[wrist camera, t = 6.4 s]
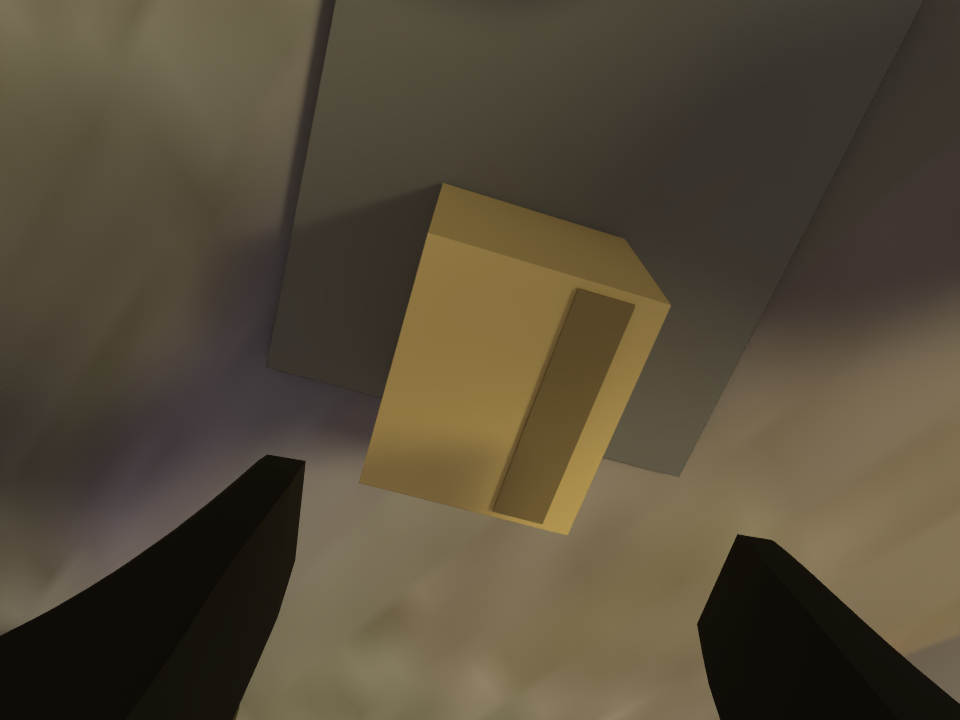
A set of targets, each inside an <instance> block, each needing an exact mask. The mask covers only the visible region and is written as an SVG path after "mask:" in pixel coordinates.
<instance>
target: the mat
mask: <svg viewBox="0 0 960 720" xmlns="http://www.w3.org/2000/svg"><path fill="white" fill-rule="evenodd" d="M923 1H924V0H336V2H335V7H334V12H333V18H332V23H331V28H330V34H329V39H328V44H327V49H326V55H325V60H324V65H323V70H322V76H321V81H320V86H319V91H318V97H317V102H316V107H315V112H314V118H313V123H312V128H311V134H310V139H309V144H308V149H307V155H306V160H305V165H304V170H303V176H302V181H301V186H300V191H299V197H298V202H297V207H296V212H295V218H294V223H293V228H292V234H291V239H290V244H289V249H288V255H287V260H286V265H285V270H284V276H283V281H282V286H281V291H280V297H279V302H278V307H277V312H276V318H275V323H274V328H273V334H272V339H271V344H270V349H269V355H268V360H267V365H266V367H268V368H271V369H275V370H279V371H283V372H286V373H290V374H294V375H298V376H301V377H305V378H309V379H313V380H316V381H320V382H324V383H328V384H331V385H335V386H339V387H343V388H346V389H350V390H354V391H358V392H361V393H365V394H369V395H372V396H376V397H380V398H383V394H384V390H385V387H386V383H387V379H388V376H389V372H390V369H391V365H392V361H393V358H394V354H395V350H396V347H397V343H398V340H399V336H400V332H401V329H402V325H403V321H404V318H405V314H406V311H407V307H408V303H409V300H410V296H411V292H412V289H413V285H414V282H415V278H416V274H417V271H418V267H419V263H420V260H421V256H422V253H423V249H424V245H425V242H426V238H427V234H428V231H429V228H430V224H431V221H432V218H433V214H434V211H435V208H436V204H437V201H438V198H439V194H440V191H441V188H442V184H443V183H445V184H448V185H452V186H455V187H458V188H461V189H465V190H468V191H471V192H474V193H478V194H481V195H484V196H487V197H491V198H494V199H497V200H500V201H504V202H507V203H510V204H513V205H517V206H520V207H523V208H526V209H530V210H533V211H536V212H539V213H543V214H546V215H549V216H552V217H556V218H559V219H562V220H565V221H569V222H572V223H575V224H578V225H582V226H585V227H588V228H591V229H594V230H598V231H601V232H604V233H607V234H611V235H614V236H617V237H620V238H624V239H625V240H626V241H627V243H628V244H629V245H630V247H631V248H632V250H633V251H634V253H635V254H636V255H637V257H638V258H639V260H640V261H641V263H642V264H643V266H644V267H645V268H646V270H647V271H648V273H649V274H650V276H651V277H652V278H653V280H654V281H655V283H656V284H657V286H658V287H659V288H660V290H661V291H662V293H663V294H664V296H665V297H666V298H667V300H668V301H669V303H670V304H671V307H670V309H669V311H668V313H667V316H666V318H665V320H664V322H663V325H662V327H661V329H660V331H659V333H658V336H657V338H656V340H655V342H654V345H653V347H652V349H651V351H650V353H649V356H648V358H647V360H646V362H645V365H644V367H643V369H642V371H641V373H640V376H639V378H638V380H637V382H636V385H635V387H634V389H633V391H632V393H631V396H630V398H629V400H628V402H627V405H626V407H625V409H624V411H623V413H622V416H621V418H620V420H619V422H618V425H617V427H616V429H615V431H614V433H613V436H612V438H611V440H610V442H609V445H608V447H607V449H606V451H605V453H604V456H603V457H605V458H608V459H612V460H616V461H620V462H623V463H627V464H631V465H634V466H638V467H642V468H646V469H649V470H653V471H657V472H661V473H664V474H668V475H672V476H676V477H679V476H680V474H681V472H682V470H683V468H684V466H685V464H686V462H687V460H688V459H689V457H690V455H691V453H692V451H693V449H694V447H695V445H696V443H697V441H698V439H699V437H700V435H701V433H702V431H703V429H704V427H705V425H706V423H707V422H708V420H709V418H710V416H711V414H712V412H713V410H714V408H715V406H716V404H717V402H718V400H719V398H720V396H721V394H722V392H723V390H724V388H725V387H726V385H727V383H728V381H729V379H730V377H731V375H732V373H733V371H734V369H735V367H736V365H737V363H738V361H739V359H740V357H741V355H742V353H743V351H744V350H745V348H746V346H747V344H748V342H749V340H750V338H751V336H752V334H753V332H754V330H755V328H756V326H757V324H758V322H759V320H760V318H761V316H762V314H763V313H764V311H765V309H766V307H767V305H768V303H769V301H770V299H771V297H772V295H773V293H774V291H775V289H776V287H777V285H778V283H779V281H780V279H781V277H782V276H783V274H784V272H785V270H786V268H787V266H788V264H789V262H790V260H791V258H792V256H793V254H794V252H795V250H796V248H797V246H798V244H799V242H800V240H801V239H802V237H803V235H804V233H805V231H806V229H807V227H808V225H809V223H810V221H811V219H812V217H813V215H814V213H815V211H816V209H817V207H818V205H819V203H820V202H821V200H822V198H823V196H824V194H825V192H826V190H827V188H828V186H829V184H830V182H831V180H832V178H833V176H834V174H835V172H836V170H837V168H838V167H839V165H840V163H841V161H842V159H843V157H844V155H845V153H846V151H847V149H848V147H849V145H850V143H851V141H852V139H853V137H854V135H855V133H856V131H857V130H858V128H859V126H860V124H861V122H862V120H863V118H864V116H865V114H866V112H867V110H868V108H869V106H870V104H871V102H872V100H873V98H874V96H875V94H876V93H877V91H878V89H879V87H880V85H881V83H882V81H883V79H884V77H885V75H886V73H887V71H888V69H889V67H890V65H891V63H892V61H893V59H894V57H895V56H896V54H897V52H898V50H899V48H900V46H901V44H902V42H903V40H904V38H905V36H906V34H907V32H908V30H909V28H910V26H911V24H912V22H913V20H914V19H915V17H916V15H917V13H918V11H919V9H920V7H921V5H922V3H923Z"/></svg>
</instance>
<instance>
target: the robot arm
mask: <svg viewBox="0 0 960 720" xmlns="http://www.w3.org/2000/svg"><path fill="white" fill-rule="evenodd" d="M305 462H306V461H302V460H296V459H290V458H284V457H279V456H273V455H266V456H264V457H263V458H261V459H260V460H258V461H257V462H256V463H255V464H254V465H253V466H252V467H250V468H249V469H248V470H247V471H246V472H245V473H244V474H242V475H241V476H240V477H239V478H238V479H237V480H236V481H234V482H233V483H232V484H231V485H230V486H228V487H227V488H226V489H225V490H224V491H222V492H221V493H220V494H219V495H218V496H216V497H215V498H214V499H213V500H212V501H210V502H209V503H208V504H207V505H205V506H204V507H203V508H201V509H200V510H199V511H198V512H196V513H195V514H194V515H193V516H191V517H190V518H189V519H187V520H186V521H185V522H184V523H182V524H181V525H180V526H178V527H177V528H176V529H175V530H173V531H172V532H170V533H169V534H168V535H166V536H165V537H164V538H162V539H161V540H159V541H158V542H156V543H155V544H154V545H152V546H151V547H149V548H148V549H146V550H145V551H144V552H142V553H141V554H139V555H138V556H136V557H135V558H134V559H132V560H131V561H129V562H128V563H126V564H125V565H123V566H122V567H120V568H119V569H117V570H116V571H114V572H113V573H111V574H110V575H108V576H106V577H105V578H103V579H102V580H100V581H99V582H97V583H95V584H94V585H92V586H91V587H89V588H87V589H86V590H84V591H82V592H81V593H79V594H77V595H75V596H74V597H72V598H70V599H69V600H67V601H65V602H64V603H62V604H60V605H58V606H57V607H55V608H53V609H51V610H50V611H48V612H46V613H44V614H42V615H40V616H38V617H36V618H35V619H33V620H31V621H29V622H27V623H25V624H23V625H21V626H19V627H17V628H15V629H13V630H11V631H9V632H7V633H5V634H3V635H1V636H0V720H233V718H234V716H235V713H236V711H237V709H238V707H239V704H240V702H241V700H242V697H243V695H244V693H245V691H246V688H247V686H248V684H249V682H250V679H251V677H252V675H253V673H254V670H255V668H256V666H257V663H258V661H259V659H260V657H261V654H262V652H263V650H264V647H265V645H266V643H267V640H268V638H269V636H270V634H271V631H272V629H273V627H274V624H275V622H276V620H277V617H278V614H279V611H280V608H281V604H282V601H283V598H284V595H285V592H286V588H287V585H288V582H289V579H290V575H291V572H292V569H293V565H294V562H295V556H296V547H297V537H298V528H299V518H300V509H301V500H302V490H303V481H304V471H305ZM697 626H698V632H699V637H700V643H701V649H702V654H703V659H704V664H705V669H706V673H707V678H708V683H709V686H710V689H711V693H712V696H713V699H714V702H715V705H716V708H717V711H718V714H719V717H720V720H960V704H959V703H958V702H957V701H955V700H954V699H953V698H952V697H950V696H949V695H948V694H947V693H946V692H945V691H943V690H942V689H941V688H940V687H939V686H937V685H936V684H935V683H934V682H933V681H931V680H930V679H929V678H928V677H927V676H925V675H924V674H923V673H922V672H921V671H919V670H918V669H917V668H916V667H915V666H913V665H912V664H911V663H910V662H909V661H907V660H906V659H905V658H904V657H903V656H902V655H901V654H900V653H899V652H897V651H896V650H895V649H894V648H893V647H892V646H891V645H889V644H888V643H887V642H886V641H885V640H884V639H883V638H882V637H880V636H879V635H878V634H877V633H876V632H875V631H874V630H873V629H872V628H870V627H869V626H868V625H867V624H866V623H865V622H864V621H863V620H862V619H860V618H859V617H858V616H857V615H856V614H855V613H854V612H853V611H852V610H851V609H850V608H848V607H847V606H846V605H845V604H844V603H843V602H842V601H841V600H840V599H839V598H838V597H837V596H835V595H834V594H833V593H832V592H831V591H830V590H829V589H828V588H827V587H826V586H825V585H823V584H822V583H821V582H820V581H819V580H818V579H817V578H816V577H815V576H814V575H813V574H811V573H810V572H809V571H808V570H807V569H806V568H805V567H804V566H803V565H801V564H800V563H799V562H798V561H797V560H796V559H795V558H794V557H792V556H791V555H790V554H789V553H788V552H787V551H785V550H784V549H783V548H782V547H780V546H779V545H778V544H777V543H775V542H774V541H773V540H768V539H762V538H756V537H750V536H744V535H739V534H737V537H736V539H735V541H734V543H733V545H732V548H731V550H730V552H729V554H728V557H727V559H726V561H725V563H724V565H723V568H722V570H721V572H720V574H719V577H718V579H717V581H716V583H715V585H714V588H713V590H712V592H711V594H710V597H709V599H708V601H707V603H706V605H705V608H704V610H703V612H702V614H701V617H700V619H699V621H698V623H697Z"/></svg>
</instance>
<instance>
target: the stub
mask: <svg viewBox="0 0 960 720" xmlns="http://www.w3.org/2000/svg"><path fill="white" fill-rule="evenodd" d="M670 307H671V304H670V303H669V301H668V300H667V298H666V297H665V296H664V294H663V293H662V291H661V290H660V288H659V287H658V286H657V284H656V283H655V281H654V280H653V278H652V277H651V276H650V274H649V273H648V271H647V270H646V268H645V267H644V266H643V264H642V263H641V261H640V260H639V258H638V257H637V255H636V254H635V253H634V251H633V250H632V248H631V247H630V245H629V244H628V243H627V241H626V240H625V239H624V238H620V237H617V236H614V235H611V234H607V233H604V232H601V231H598V230H594V229H591V228H588V227H585V226H582V225H578V224H575V223H572V222H569V221H565V220H562V219H559V218H556V217H552V216H549V215H546V214H543V213H539V212H536V211H533V210H530V209H526V208H523V207H520V206H517V205H513V204H510V203H507V202H504V201H500V200H497V199H494V198H491V197H487V196H484V195H481V194H478V193H474V192H471V191H468V190H465V189H461V188H458V187H455V186H452V185H448V184H445V183H443V184H442V188H441V191H440V194H439V198H438V201H437V204H436V208H435V211H434V214H433V218H432V221H431V224H430V228H429V231H428V234H427V238H426V242H425V245H424V249H423V253H422V256H421V260H420V263H419V267H418V271H417V274H416V278H415V282H414V285H413V289H412V292H411V296H410V300H409V303H408V307H407V311H406V314H405V318H404V321H403V325H402V329H401V332H400V336H399V340H398V343H397V347H396V350H395V354H394V358H393V361H392V365H391V369H390V372H389V376H388V379H387V383H386V387H385V390H384V394H383V398H382V401H381V405H380V408H379V412H378V416H377V419H376V423H375V426H374V430H373V434H372V437H371V441H370V445H369V448H368V452H367V455H366V459H365V463H364V466H363V470H362V474H361V477H360V481H359V483H361V484H365V485H369V486H373V487H377V488H381V489H385V490H389V491H393V492H397V493H401V494H405V495H409V496H413V497H417V498H421V499H425V500H429V501H433V502H437V503H441V504H445V505H449V506H453V507H457V508H461V509H465V510H469V511H473V512H477V513H481V514H485V515H488V516H492V517H496V518H500V519H504V520H508V521H512V522H516V523H520V524H524V525H528V526H532V527H536V528H540V529H544V530H548V531H552V532H556V533H560V534H564V535H568V533H569V531H570V529H571V527H572V524H573V522H574V520H575V518H576V516H577V513H578V511H579V509H580V507H581V504H582V502H583V500H584V498H585V496H586V493H587V491H588V489H589V487H590V484H591V482H592V480H593V478H594V476H595V473H596V471H597V469H598V467H599V464H600V462H601V460H602V458H603V456H604V453H605V451H606V449H607V447H608V445H609V442H610V440H611V438H612V436H613V433H614V431H615V429H616V427H617V425H618V422H619V420H620V418H621V416H622V413H623V411H624V409H625V407H626V405H627V402H628V400H629V398H630V396H631V393H632V391H633V389H634V387H635V385H636V382H637V380H638V378H639V376H640V373H641V371H642V369H643V367H644V365H645V362H646V360H647V358H648V356H649V353H650V351H651V349H652V347H653V345H654V342H655V340H656V338H657V336H658V333H659V331H660V329H661V327H662V325H663V322H664V320H665V318H666V316H667V313H668V311H669V309H670Z"/></svg>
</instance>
